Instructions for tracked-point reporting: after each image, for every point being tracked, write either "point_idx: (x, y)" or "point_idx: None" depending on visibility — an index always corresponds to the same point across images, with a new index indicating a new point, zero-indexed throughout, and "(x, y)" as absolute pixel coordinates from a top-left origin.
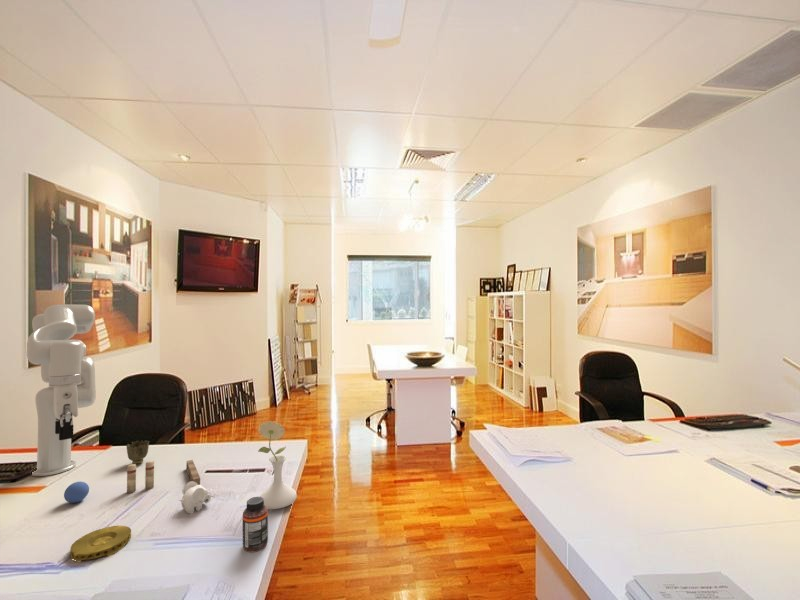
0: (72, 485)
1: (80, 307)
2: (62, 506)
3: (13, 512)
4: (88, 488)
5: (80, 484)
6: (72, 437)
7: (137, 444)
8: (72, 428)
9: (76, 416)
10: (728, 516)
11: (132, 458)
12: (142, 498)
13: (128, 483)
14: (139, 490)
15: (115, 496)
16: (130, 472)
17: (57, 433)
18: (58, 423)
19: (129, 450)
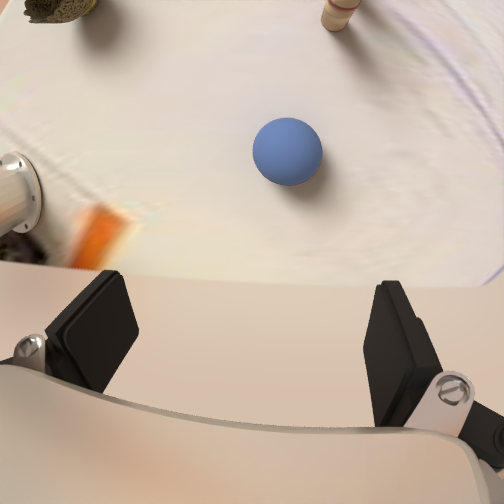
0: (297, 169)
1: None
2: None
3: (234, 270)
4: (300, 121)
5: (305, 147)
6: (396, 283)
7: (35, 2)
8: (420, 341)
9: (443, 433)
10: None
11: (86, 7)
12: (412, 22)
13: (346, 21)
14: None
15: (336, 59)
16: (358, 4)
17: (136, 326)
18: (101, 377)
19: (65, 10)
